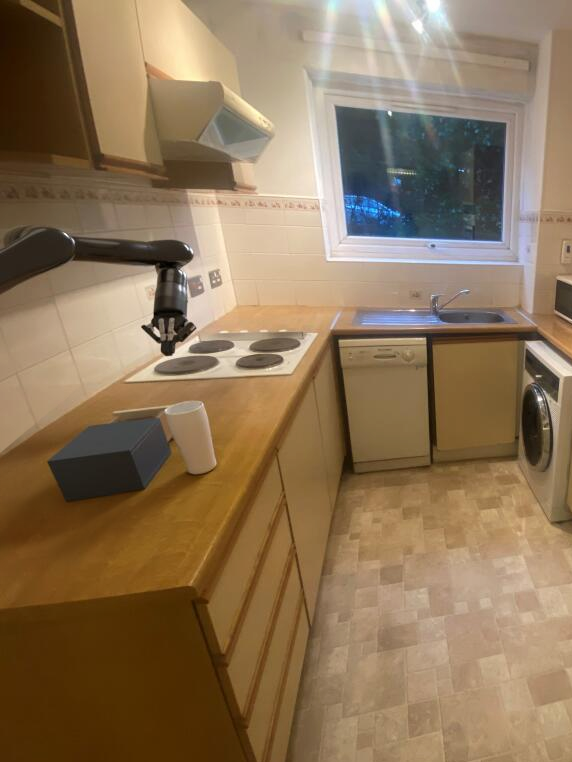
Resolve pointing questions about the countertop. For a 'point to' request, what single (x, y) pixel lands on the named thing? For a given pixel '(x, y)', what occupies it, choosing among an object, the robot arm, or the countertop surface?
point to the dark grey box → (110, 459)
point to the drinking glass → (192, 435)
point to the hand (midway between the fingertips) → (167, 354)
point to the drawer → (143, 412)
